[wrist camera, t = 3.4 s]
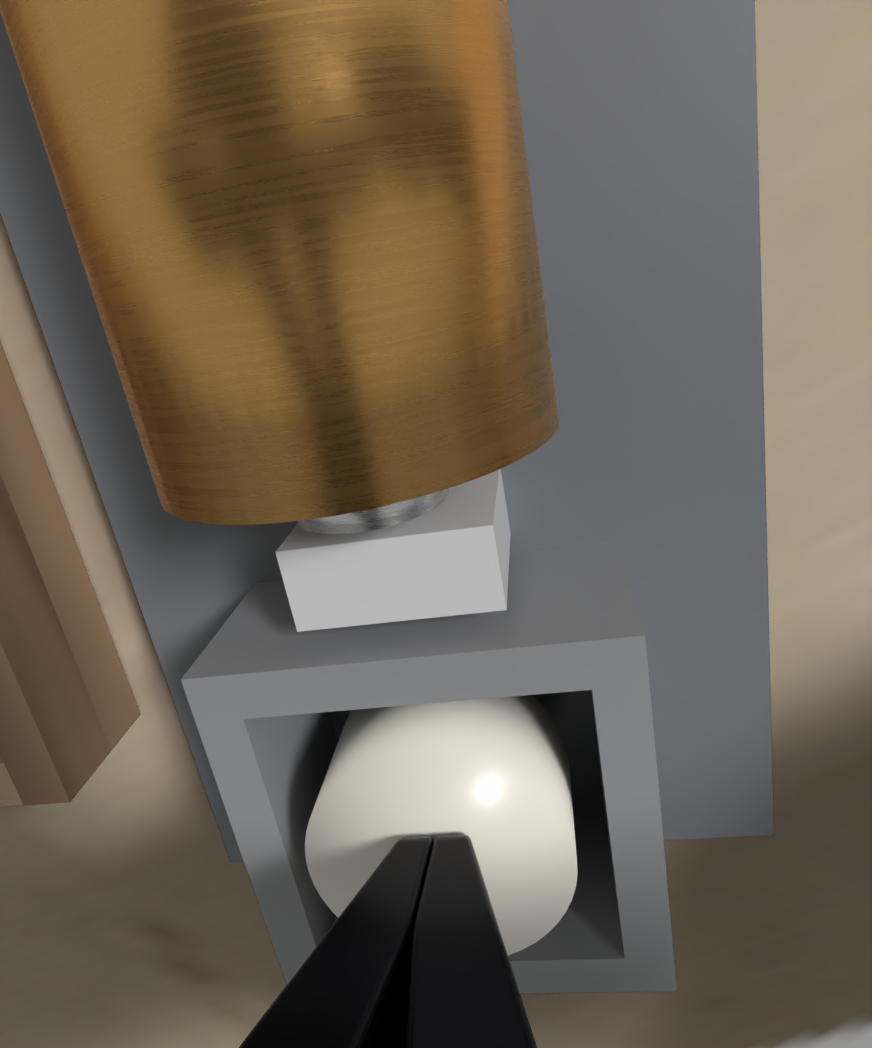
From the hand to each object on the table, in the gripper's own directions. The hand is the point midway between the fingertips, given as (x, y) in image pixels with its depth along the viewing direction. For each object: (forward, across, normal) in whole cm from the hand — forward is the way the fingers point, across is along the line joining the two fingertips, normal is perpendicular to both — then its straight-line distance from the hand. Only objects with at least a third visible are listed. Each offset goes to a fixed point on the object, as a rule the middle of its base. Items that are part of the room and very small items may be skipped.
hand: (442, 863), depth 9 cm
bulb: (+2, 0, 0) cm, 2 cm away
